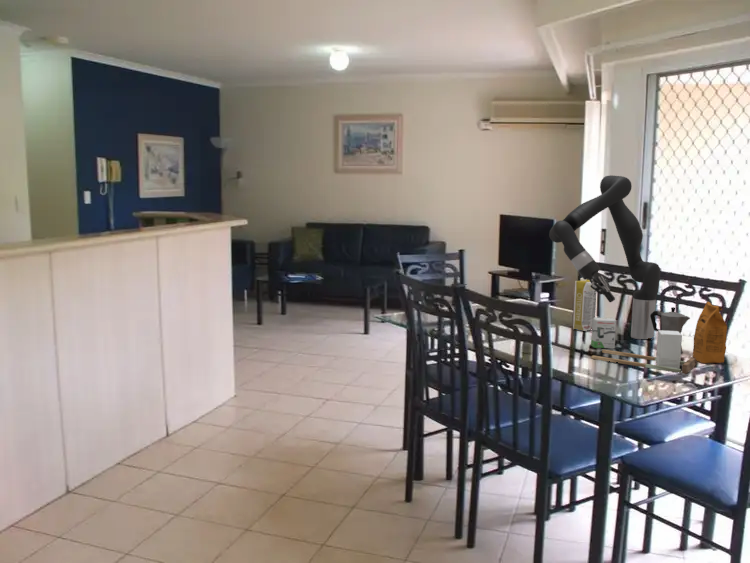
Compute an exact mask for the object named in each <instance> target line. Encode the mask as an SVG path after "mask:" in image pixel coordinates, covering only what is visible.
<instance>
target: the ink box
mask: <svg viewBox="0 0 750 563" xmlns="http://www.w3.org/2000/svg"><path fill="white" fill-rule="evenodd" d="M616 331H617V320H616V319H615V318H613V317H597V316H595V317H594V318H593V322H592V330H591V338H590V339H591V341H590V346H591V347H592V348H595V349H615V347H616V346H615V345H616Z"/></svg>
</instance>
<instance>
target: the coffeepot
mask: <svg viewBox="0 0 750 563" xmlns="http://www.w3.org/2000/svg"><path fill="white" fill-rule="evenodd" d="M670 309H671V310H670V311H668V312H663V311H659V310H655V311H654V312H653V313H651V315H650V317H651V321H652V324H653V328H654V332H658V330H660V328H658V327H657V326H658V325H657V322H656V316H657V317H660V319H661V321H660V322H661V330H664V331H679V333H680V334H681V333H682V332H683V328H684V326H685V325H686V323H687V322H688V320H690V319H691V318H690V317H689V316H687V315H685V314H684V313H679V312H676V311H675V310H676V307H674V306H673V307H671V308H670ZM681 335H682V334H681ZM682 348H683V346H682V345H681V354H683V349H682Z"/></svg>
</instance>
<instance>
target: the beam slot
mask: <svg viewBox="0 0 750 563" xmlns="http://www.w3.org/2000/svg"><path fill="white" fill-rule="evenodd" d="M601 350H602V351H601V353H602V354H603V353H604V354H609V355H610V354H611V355H614V356H615V355H617V356H622V357H629V358H635V359H641V360H642V359H643V360H648V361H655V362H656V356H652V355H651V356H648V355H645V354H636V353H632V352H631V353H630V352H624V351H616V350H611V349H606V348H602V349H601ZM590 358H591V360H597V361H598V360H599V361H604V362H609V361H610V363H616V362H618V363H617V364H623V365H629V366H634V367H641V368H648V369H654V370H660V371H665V372H666V371H667V372H673V373H678V372H679V374H680V373H681V374H685V375H687V374H688V373H689V372H690V371H692V369H693V368H695V366H696V358H694V357H693V356H692V357H690V358H689V359H687V360H686V361H684V360H680V366H681V368H679V369H677V368H670V367H664V366H658V365H657V364H650V363H644V362H638V361H632V360H625V359H619V358H612V357H606V356H599V355H594V354H593V355H591V357H590Z"/></svg>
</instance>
